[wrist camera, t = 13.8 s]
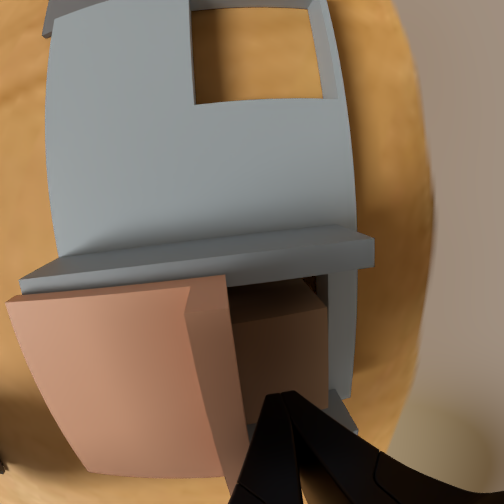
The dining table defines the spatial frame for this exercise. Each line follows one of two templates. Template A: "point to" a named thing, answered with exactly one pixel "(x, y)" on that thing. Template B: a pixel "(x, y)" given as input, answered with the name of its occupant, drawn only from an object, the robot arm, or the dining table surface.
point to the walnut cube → (279, 342)
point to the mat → (63, 11)
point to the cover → (140, 376)
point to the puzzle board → (197, 170)
